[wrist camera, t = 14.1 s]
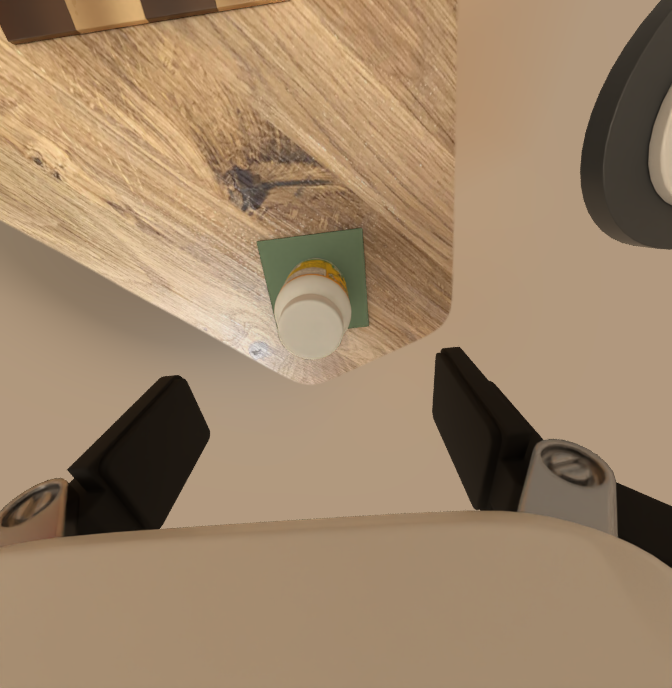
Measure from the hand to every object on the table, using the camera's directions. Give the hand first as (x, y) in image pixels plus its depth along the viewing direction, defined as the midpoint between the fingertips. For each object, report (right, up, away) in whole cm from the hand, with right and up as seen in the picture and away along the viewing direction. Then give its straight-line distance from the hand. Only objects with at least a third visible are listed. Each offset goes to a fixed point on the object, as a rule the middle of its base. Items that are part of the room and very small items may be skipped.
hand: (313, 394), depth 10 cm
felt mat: (-1, +7, +15) cm, 17 cm away
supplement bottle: (-1, +7, +15) cm, 16 cm away
